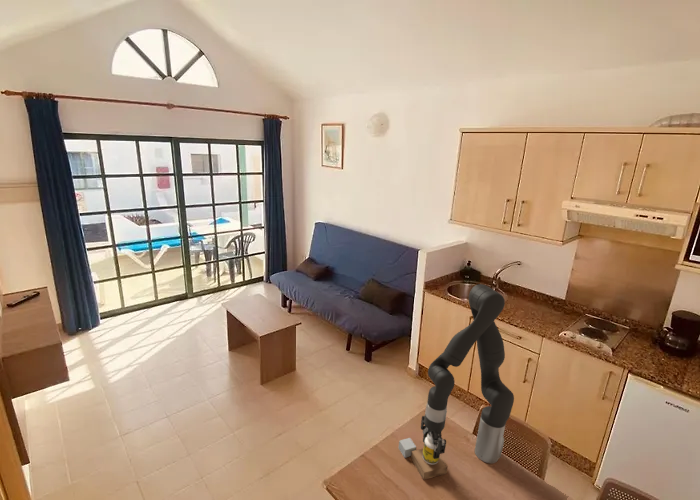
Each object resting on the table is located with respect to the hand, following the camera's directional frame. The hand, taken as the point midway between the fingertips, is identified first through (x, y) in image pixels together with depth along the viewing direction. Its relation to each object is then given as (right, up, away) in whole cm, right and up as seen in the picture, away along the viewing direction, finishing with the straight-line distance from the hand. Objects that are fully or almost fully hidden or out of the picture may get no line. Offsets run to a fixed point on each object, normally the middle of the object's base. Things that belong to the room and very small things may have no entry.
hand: (430, 449), depth 139 cm
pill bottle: (0, -4, +1) cm, 5 cm away
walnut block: (0, -7, +2) cm, 8 cm away
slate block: (-8, -5, +8) cm, 13 cm away
